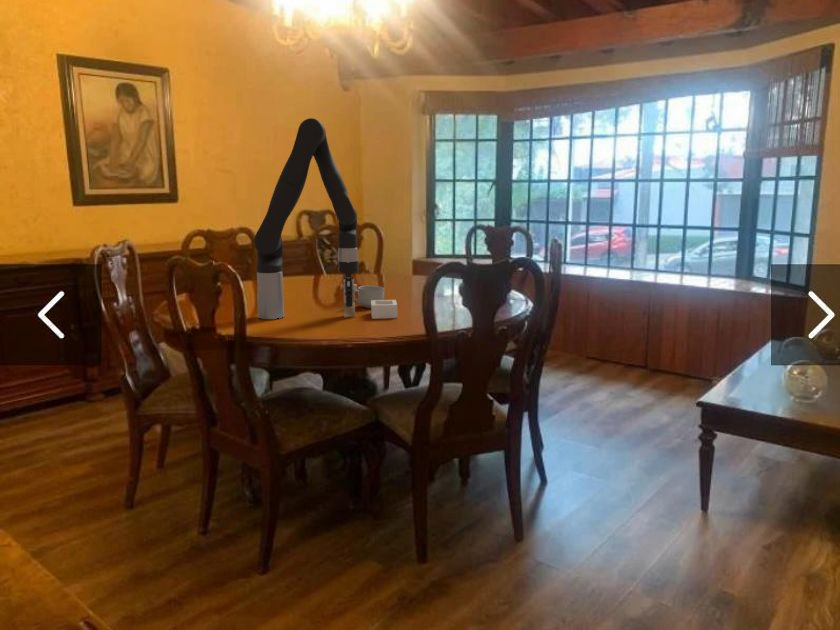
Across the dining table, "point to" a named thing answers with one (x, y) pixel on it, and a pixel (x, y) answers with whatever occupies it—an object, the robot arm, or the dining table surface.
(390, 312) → the well
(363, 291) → the teacup
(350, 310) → the bracket
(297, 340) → the dining table surface
